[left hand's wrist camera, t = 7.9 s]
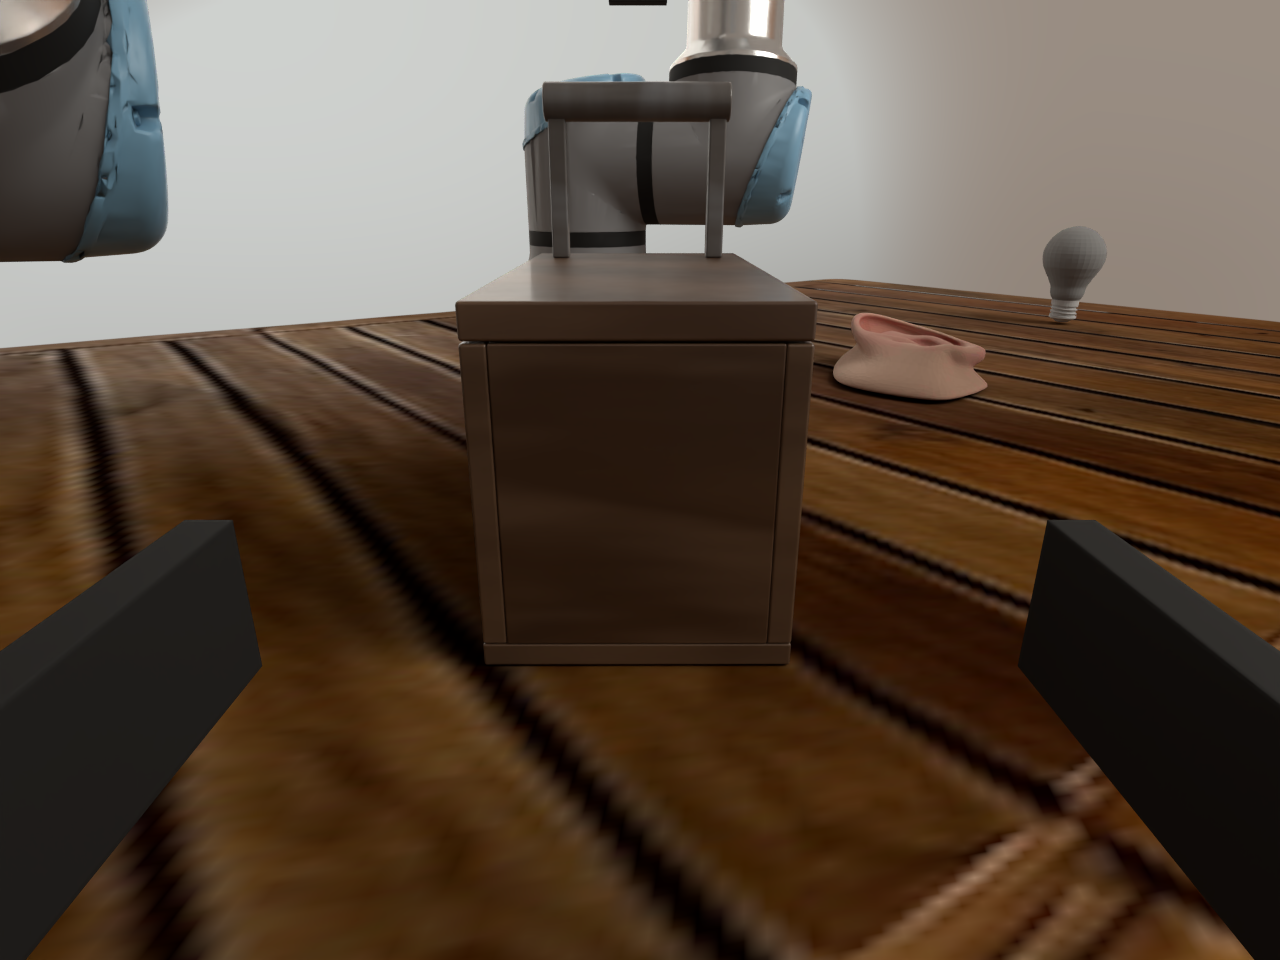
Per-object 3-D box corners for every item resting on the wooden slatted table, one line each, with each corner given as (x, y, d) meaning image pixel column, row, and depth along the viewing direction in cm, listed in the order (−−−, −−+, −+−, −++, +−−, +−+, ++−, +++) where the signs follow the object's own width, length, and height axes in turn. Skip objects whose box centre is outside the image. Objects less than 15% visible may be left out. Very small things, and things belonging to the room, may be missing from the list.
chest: (548, 471, 39) (539, 277, 36) (727, 471, 39) (735, 277, 36) (484, 665, 23) (457, 344, 19) (789, 665, 23) (815, 344, 19)
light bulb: (1042, 325, 82) (1059, 227, 78) (1024, 316, 87) (1040, 225, 84) (1101, 326, 81) (1122, 227, 78) (1079, 318, 87) (1098, 225, 83)
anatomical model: (993, 346, 49) (814, 333, 53) (983, 406, 50) (810, 389, 55) (997, 318, 60) (849, 309, 64) (989, 368, 61) (845, 356, 66)
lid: (541, 275, 36) (532, 90, 33) (734, 275, 36) (741, 90, 33) (457, 341, 19) (427, -18, 17) (815, 342, 19) (844, -17, 17)
